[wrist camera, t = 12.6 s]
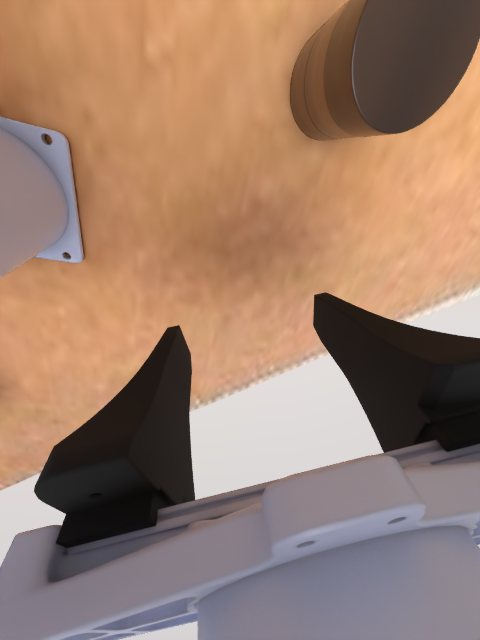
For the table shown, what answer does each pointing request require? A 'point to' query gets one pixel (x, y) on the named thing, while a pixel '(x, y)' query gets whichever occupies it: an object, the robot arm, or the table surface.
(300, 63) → the oak chip bottom
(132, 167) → the table surface
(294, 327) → the table surface
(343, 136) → the disc
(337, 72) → the walnut chip
